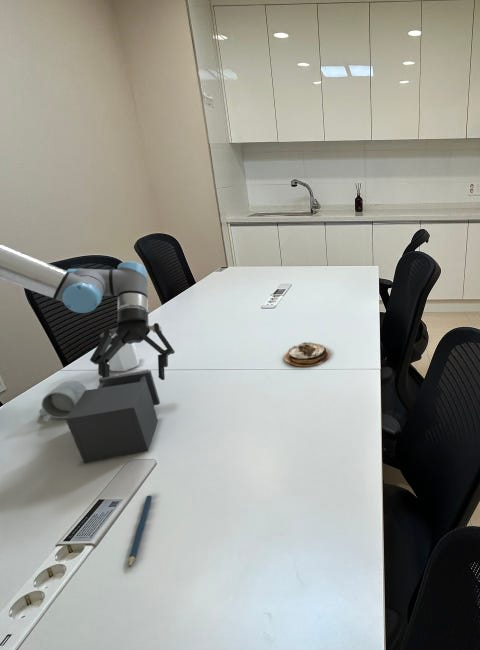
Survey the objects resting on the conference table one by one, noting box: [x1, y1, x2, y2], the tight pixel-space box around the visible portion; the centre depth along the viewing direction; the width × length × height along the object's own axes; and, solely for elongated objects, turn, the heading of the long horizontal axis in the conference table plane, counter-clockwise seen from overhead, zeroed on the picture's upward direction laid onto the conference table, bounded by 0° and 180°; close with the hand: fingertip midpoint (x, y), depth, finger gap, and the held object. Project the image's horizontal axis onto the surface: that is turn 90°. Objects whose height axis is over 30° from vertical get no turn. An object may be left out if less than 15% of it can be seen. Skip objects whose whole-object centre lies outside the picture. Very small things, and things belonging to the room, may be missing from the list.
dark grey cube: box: [64, 381, 159, 464], centre depth 89 cm, size 12×13×12 cm
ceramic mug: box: [38, 380, 88, 419], centre depth 102 cm, size 11×8×8 cm
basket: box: [97, 369, 161, 407], centre depth 99 cm, size 17×12×10 cm
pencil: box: [128, 495, 153, 568], centre depth 68 cm, size 1×1×15 cm
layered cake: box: [284, 341, 331, 367], centre depth 129 cm, size 15×15×4 cm
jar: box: [99, 327, 141, 372], centre depth 124 cm, size 9×8×12 cm
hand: (134, 382), depth 104 cm, fingers open, 13 cm apart
